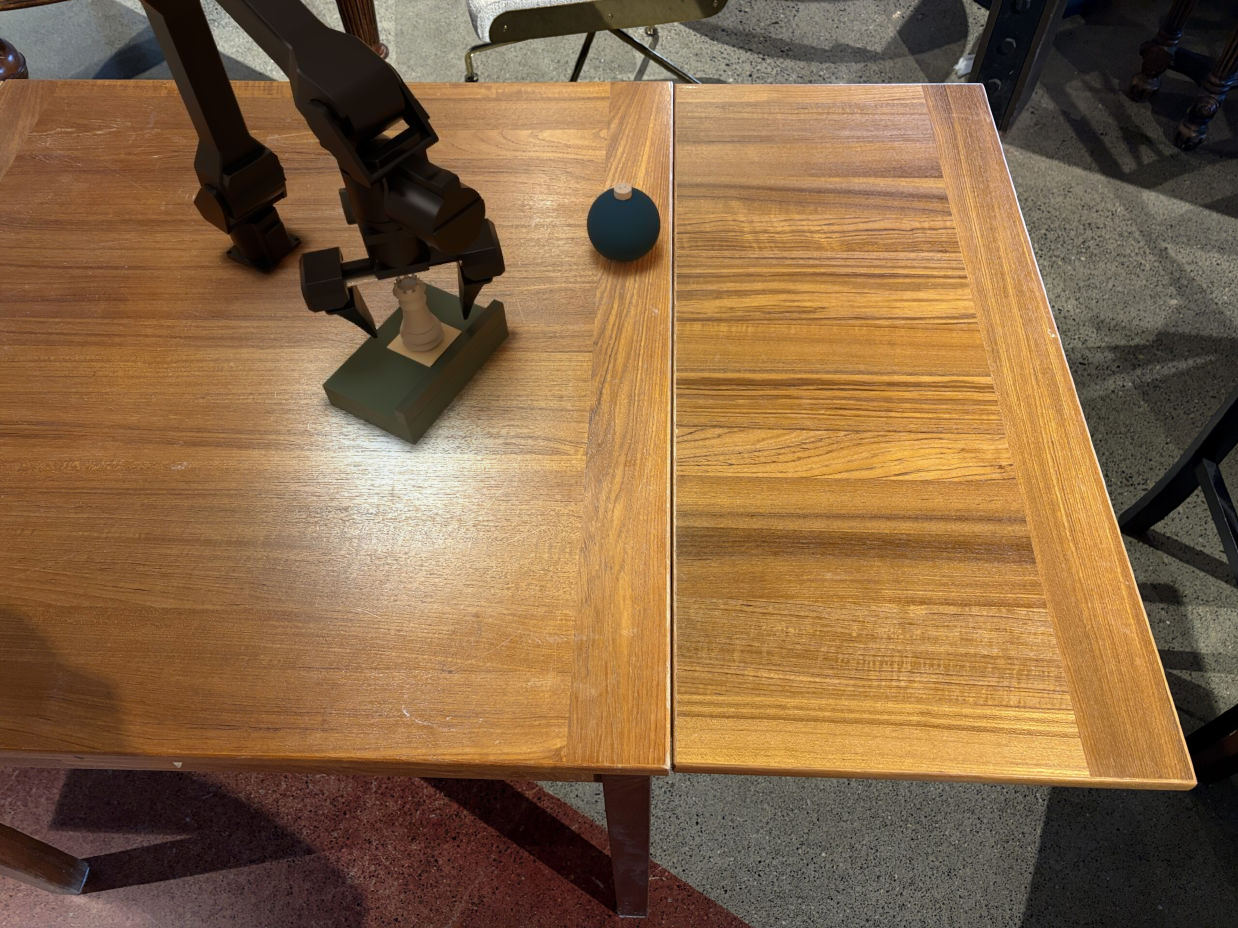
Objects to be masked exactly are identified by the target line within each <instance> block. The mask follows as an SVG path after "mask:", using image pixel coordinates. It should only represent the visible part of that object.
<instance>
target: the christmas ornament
mask: <svg viewBox="0 0 1238 928" xmlns="http://www.w3.org/2000/svg"><path fill="white" fill-rule="evenodd" d="M661 224H662V223H661V216H660V211H659V209H658V207H657V204H656V203H655V201H654V200H652V198H651V196H649V195H648V194H647V193H645V192H644V191H642V190H641V189H639V188H637V187H634V186H632V185H631V184H630V183H628V182H626V181H620V182H617V183H616V184H615V185H614V186H613V187H611V188H609V189H607V190H604V191H603V192H602V193H600V194H599V195H598V196H597V197H596V198H595V200H594V201H593V202H592V204H591V205H590V207H589V210H588V213H587V217H586V232H587V236H588V239H589V241H590V243H591V245H592V246H593V248H594V249H595V251H596V252H597V253H598V254H599V255H601V256H602V257H604V258H605V259H607V260H609V261H611V262H616V263H623V264H624V263H633V262H635V261H636V262H637V261H638V260H640V259H642V258H644V257H645V256H647V255H648V254H649V253H650V252H651V251H652V249H653V248H655V245H656V244H657V242H658V239H659V237H660V233H661Z"/></svg>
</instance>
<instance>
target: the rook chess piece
mask: <svg viewBox="0 0 1238 928" xmlns="http://www.w3.org/2000/svg"><path fill="white" fill-rule="evenodd" d="M394 280H395V282H393V287H392V289H391V290H392V295H393V297H395V299H396V300H398V301H397V304H398V307H399V306H400V307H401V308H402V310H403V321H402V324H401V327H400V334H401V339H402V343H403V344H404V345H405V346H406V348H409V349H411V350H413V351H416V352H425V351H429V350H431V349H433V348H435V347H436V346H437V345H438V344H439V343H440V342H441V341H442V339H443V335H444V331H443V328H442V326H441V322H440V321H439V319H438V318H437V317H436V316H435V315H433V314H432V313H431V312H430V311H429V309H428V307H427V305H426V295H425V294H424V292H425V289H426V286H425V283H426V282H425V281H423V280H422V279H420V277H418V274H417V273H414V274H410V276H409V275H405V276H402V277H401V276H400V277H395V278H394ZM424 282H425V283H424Z"/></svg>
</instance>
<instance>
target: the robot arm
mask: <svg viewBox="0 0 1238 928" xmlns="http://www.w3.org/2000/svg"><path fill="white" fill-rule="evenodd" d="M214 1H215V2H216V3H217V4H218V5H219V7H221V9H222V10H223V11H225V13H226V14H227V15H228V16H229V17H230V18H231V19H233V21H234V22H235V24H237V25H238V26H239V27H240V28H241V29H242V30H243V31H244V32H245V34H246V35H247V36H248V37H250V39H251V40H252V41H253V42H254V43H255V44H256V45H257V46H258V47H259V48H260V49H261V50H262V51H263V52H264V53H265V54H266V55H267V56H268V58H270V59H271V61H273V63H274V64H275V65H276V66H277V67H278V68H279V69H280V70H281V71H282V73H283V74H284V75H285V76H286V78H287V79H288V81H289V86H290V89H291V94H292V98H293V103H294V106H295V109H297V111H298V112H299V113H300V115H301V116H302V117H303V118H304V119H305V122H306V123H307V126H308V127H309V129H310V131H311V132H312V134H313V135H314V136H315V138H316V139H317V140H318V143H319V146H320V148H321V147H322V149H323V150H325V151H328V153H330V155H332V157H333V158H334V159H335V160H336V164H337V166H338V169H339V172H340V175H341V178H342V181H343V184H344V187H340V188H338V196H339V199H340V204H341V208H342V211H343V214H344V218H345V222H346V224H347V225H348V226H353V225H357V227H358V230H359V234H360V236H361V239H362V242H363V245H364V249H365V251H366V254H367V257H365V258H360V259H355V260H350V261H344V255H343V251H342V249H341V247H340V246H333V247H328V248H323V249H317V250H312V251H307V252H303V253H302V254H301V255H300V257H299V259H298V272H299V281H300V282H299V284H300V291H301V294H302V298H303V300H304V302H305V306H306V307H307V309H308V311H309V312H312V313H314V314H316V313H322V312H324V313H325V315H327V316H339V317H340V318H342V319H344V320H346V321H347V322H350V323H352V324H353V325H355V326H356V327H358V328H359V329H361V331H364V333H366V334H367V335H369V337H370V336H372V337H373V338H374V339H375V338H378V333H377V329H378V328H377V326H376V322H375V320H374V317H373V315H372V313H371V311H370V310H369V307H368V306H367V304H366V301H365V299H364V297H363V295H362V293H361V292H360V290H359V289H360V288H359V287H358V286H360V285H363V284H368V283H374V282H378V281H384V280H389V279H396V278H397V277H400V278H401V277H403V276H405V275H408V276H409V275H410V276H411V275H412V274H419V273H423V272H428V271H430V270H431V269H430V268H432V267H436V266H441V265H447V264H452V263H456V270H457V286H458V287H457V288H458V297H459V301H460V306H461V310H462V314H463V319H464V320H467V319H468V317H469V314H470V312H471V309H472V306H473V304H474V303H475V301H476V299H477V297H478V296H479V294H480V292H481V291H482V289H483V287H484V286H486V285H489V284H491V283H492V282H493V281H494V278H497V277H501V276H502V275H503V274H504V273H505V272H506V264H505V259H504V253H503V250H502V246H501V243H500V239H499V236H498V233H497V228H496V225H495V223H494V222H493V220H491V219H489V218H488V217H486V212H487V211H486V202H485V199H484V198H483V197H482V196H481V194H480V192H478V191H477V190H476V189H474V188H473V187H472V186H469V185H467V184H466V183H464V182H462V181H461V179H460V177H459V175H458V174H456V173H455V172H453V171H451V170H448V169H446V168H444V167H443V168H442V167H440V166H438V165H436V164H435V163H433V162H431V161H430V160H429V157H428V152H427V150H428V149H430V148H431V147H433V146H435V145H436V144H437V143H438V142H439V141H440V138H439V135H438V134H437V133H436V131H435V129H434V128H433V126H432V124H431V123H430V121H429V120H430V119H431V115H429V113H428V112H427V111H426V109H425V108H424V107H423V105H422V104H421V103H420V102H419V100H418V98H417V97H416V96H415V94H414V93H413V92H412V90H411V89H410V87H408V85H407V84H406V83H405V81H404V79H403V78H402V76H401V74H400V73H399V72H398V70H397V69H396V68H395V67H394V66H393V65H392V64H391V63H389V62H388V61H386V59H385V58H383V56H381V55H380V54H378V52H376V51H375V49H373V48H371V47H370V46H369V45H368V44H367V43H366V42H364V41H363V40H362V39H361V37H358V36H356V35H354V34H350V33H348V32H344V31H341V30H338V29H335V28H333V27H329V26H328V25H326V24H325V22H323V21H322V20H321V19H320V18H319V17H317V16H316V14H315V13H314V12H313V11H312V10H311V9H310V8H309V7H308V6H307V5H306V4H305V3H304V2H303V1H302V0H214ZM138 2H140V4H141V6H142V9H143V11H144V13H145V15H146V17H147V20H148V22H149V25H150V27H151V29H152V31H153V34H154V36H155V38H156V41H157V44H158V45H159V47H160V50H161V53H162V55H163V57H164V60H165V62H166V64H167V67H168V69H169V71H170V73H171V76H172V78H173V81H174V83H175V85H176V87H177V90H178V92H179V95H180V97H181V99H182V102H183V104H184V106H185V109H186V111H187V113H188V116H189V118H190V120H191V123H192V125H193V127H194V130H195V132H196V134H197V137H198V143H197V147H196V151H195V156H194V161H193V168H194V171H195V174H196V177H197V180H198V182H199V183H198V184H199V185H200V187H199V190H198V192H197V193H196V196H195V198H194V199H193V204H194V206H195V208H196V209H197V211H198V212H199V214H200V215H201V217H202V218H203V219H204V220H205V221H206V222H208V223H209V224H211V225H212V226H214V227H215V228H217V229H218V230H220V231H221V232H223V233H224V234H226V235H227V236H228V235H229V237H230V239H231V241H232V243H233V245H232V246H231V247H230V248H229V249H227V250H226V251H225V255H226V257H227V258H228V259H231V260H232V261H235V262H237V263H238V264H239V263H240V264H242V265H244V266H246V267H248V268H250V269H253V270H255V271H257V272H259V273H262V274H268V273H270V272H271V271H272V270H273V269H274V268H275V267H276V266H278V264H280V263H281V262H282V261H283V260H284V259H285V258H287V257H288V256H289V255H290V254H291V253H292V252H294V250H296V249H297V248H298V247H299V246H300V245H301V244H302V242H303V241H302V238H301V237H299V236H297V235H295V234H293V233H290V232H288V231H287V229H286V227H285V224H284V222H283V221H282V219H281V217H280V214H279V212H278V209H277V207H276V206H274V205H275V204H277V203H278V202H280V201H281V200H283V199H285V198H287V197H288V189H287V183H286V181H288V179H287V177H286V175H285V169H284V167H283V166H282V164H281V161H280V160H279V156H278V154H277V153H275V152H274V151H273V150H272V149H271V148H269V147H267V146H266V145H265V144H264V143H262V142H261V141H259V140H258V139H256V138H255V137H254V136H252V135H251V134H250V131H249V129H248V127H247V123H246V121H245V118H244V116H243V113H242V110H241V107H240V104H239V102H238V100H237V97H236V93H235V90H234V89H233V86H232V83H231V80H230V78H229V75H228V73H227V72H228V71H227V69H226V67H225V64H224V62H223V60H222V56H221V53H220V51H219V48H218V45H217V42H216V40H215V37H214V34H213V32H212V28H211V27H210V24H209V21H208V18H207V16H206V13H205V10H204V7H203V5H202V2H201V0H138ZM401 121H403V122H404V123H405V124H406V125H407V126H408V127H406V128H405V129H404V130H402V131H401V132H399V133H398V134H396V135H395V136H392V137H390V136H388V135H387V134H385V132H387V131H388V130H389V129H391V128H392V127H395V125H397V124H398V123H400V122H401Z"/></svg>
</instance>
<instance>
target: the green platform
mask: <svg viewBox="0 0 1238 928" xmlns="http://www.w3.org/2000/svg"><path fill="white" fill-rule="evenodd" d="M423 282H424V283H425V286H426V289H425V292H424V294H425V295H426V305H427V307H428V309H429V311H430V312H431V313H432V314H433V315H435V316H436V317H437V318H438V319H439V321H440V322H441V326H442V328H443V331H444V335H443V339H442V341H441V342H440V343H439V344H438V345H437V346H436V347H435V348H433V349H431V350H429V351H425V352H416V351H413V350H411V349H409V348H406V346H405V345H404V344H403V343H402V339H401V334H400V327H401V324H402V321H403V310H402V308H401V307H400V306H399V305H398V307H397V308H396V310H394V311H393V312H392V313H391V314H390V315H389V316H388V317H387V318H386V319H385V320H384V321H383V322H382V324H380V326H379V327H377V328H376V329H377V333H378V338H375V339H374V338H373V337H372V336H370V335H369V336H368V338H367V339H366V340H365V341H364V342H363V343H362V344H360V346H359V347H357V349H356V350H355V351H354V352H353V353H352V354H351V355H350V356H349V357H348V358H347V359H346V360H345V361H344V362H343V363H342V364H341V365H340V366H339V367H338V368H337V369H336V370H335V371H334V372H333V374H331V375H330V376H329V378H327V380H325V381H324V383H322V389H323V390H324V392H325V395H326V397H327V399H328V401H329V404H330V405H332V406H335V407H336V408H338V409H340V410H343V411H345V412H346V413H348V414H351V415H353V416H355V417H357V418H359V419H360V420H363V421H365V422H367V423H369V424H371V425H373V426H375V427H377V428H379V429H381V430H383V431H386V432H388V433H390V434H391V435H393V436H396V437H398V438H400V439H402V440H404V441H405V442H408V443H410V444H412V445H414V446H415V445H416V444H417V443H418V441H419V440H420V439H421V438H422V437H423V436H424V434H426V432H427V431H428V430H429V429H430V427H431V426H433V424H434V423H435V422H436V421H437V419H438V418H439V417H440V416H441V415H442V414H443V413H444V411H446V409H447V408H448V407H449V406H450V405H451V403H452V402H453V401H454V400H455V399H456V398H457V397H458V395H460V393H461V392H462V391H463V390H464V388H465V387H466V386H467V385H468V384H469V383H470V381H472V379H473V378H474V377H475V376H476V375H477V374H478V372H479V371H480V370H481V369H482V367H483V366H484V365H486V363H487V362H488V361H489V360H490V358H491V357H492V356H493V355H494V354H495V353H496V351H497V350H498V349H499V348H500V347H501V346H502V344H503V343H504V342H505V341H506V340H507V338H509V336H510V334H509V333H510V332H509V327H508V322H507V321H508V320H507V315H506V311H505V304H504V302H502V301H500V300H498V299H495V298H494V299H492V301H490V303H489V304H488V305H487V306H486V307H484V306H481V305H479V304H477V303H475V302H474V304H473V306H472V309H471V312H470V314H469V317H468V319H467V320H464V319H463V314H462V310H461V306H460V301H459V295H457V294H453V293H452V292H448V291H446V290H443V289H442V288H439V287H437V286H434V285H431V284H429V283H427V282H425V281H423Z"/></svg>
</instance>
